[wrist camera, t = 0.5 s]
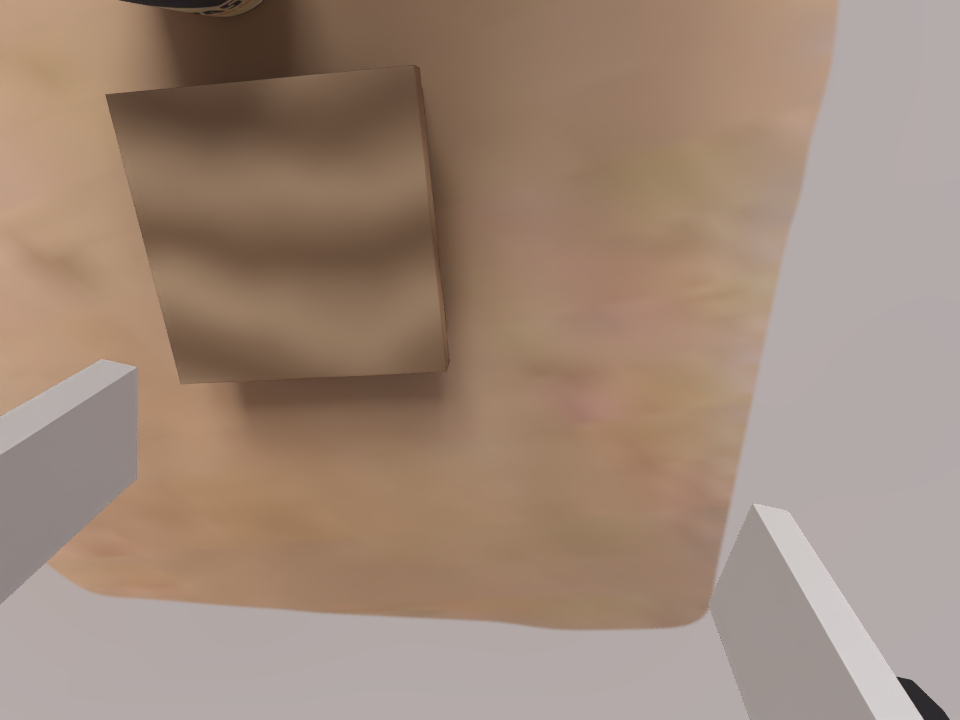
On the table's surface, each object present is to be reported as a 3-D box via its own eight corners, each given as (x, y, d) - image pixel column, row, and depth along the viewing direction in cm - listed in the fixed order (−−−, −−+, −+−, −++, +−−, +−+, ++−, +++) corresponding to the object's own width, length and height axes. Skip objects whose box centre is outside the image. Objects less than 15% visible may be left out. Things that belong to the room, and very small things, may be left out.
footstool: (167, 98, 35) (105, 94, 30) (431, 74, 34) (414, 65, 29) (225, 351, 41) (180, 384, 35) (457, 339, 39) (446, 371, 34)
